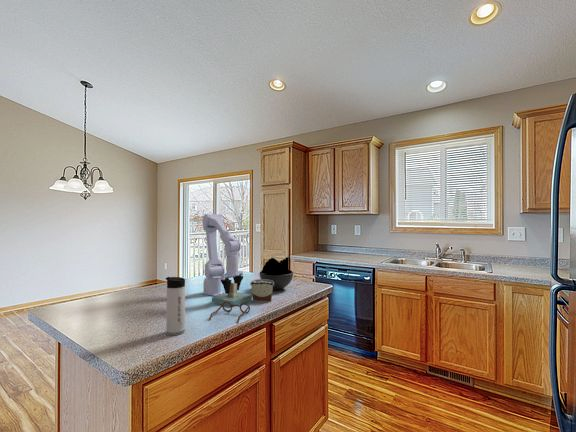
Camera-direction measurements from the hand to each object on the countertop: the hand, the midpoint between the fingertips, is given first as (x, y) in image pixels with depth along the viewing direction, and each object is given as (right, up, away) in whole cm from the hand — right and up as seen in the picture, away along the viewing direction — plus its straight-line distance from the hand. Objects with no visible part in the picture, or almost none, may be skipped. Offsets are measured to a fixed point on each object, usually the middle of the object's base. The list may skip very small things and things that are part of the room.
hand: (232, 291), depth 144 cm
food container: (+15, -5, +3) cm, 16 cm away
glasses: (+4, -5, -23) cm, 24 cm away
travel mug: (-13, -4, -40) cm, 42 cm away
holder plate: (0, -5, 0) cm, 5 cm away
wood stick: (0, -5, 0) cm, 5 cm away
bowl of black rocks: (+21, -5, +25) cm, 33 cm away
